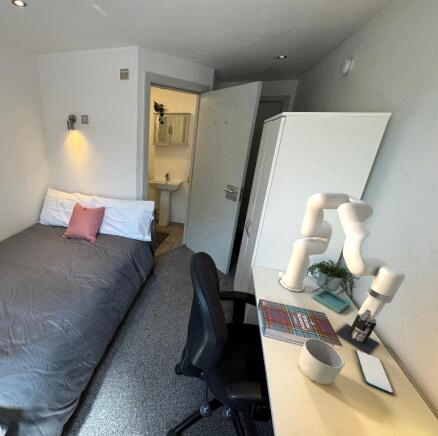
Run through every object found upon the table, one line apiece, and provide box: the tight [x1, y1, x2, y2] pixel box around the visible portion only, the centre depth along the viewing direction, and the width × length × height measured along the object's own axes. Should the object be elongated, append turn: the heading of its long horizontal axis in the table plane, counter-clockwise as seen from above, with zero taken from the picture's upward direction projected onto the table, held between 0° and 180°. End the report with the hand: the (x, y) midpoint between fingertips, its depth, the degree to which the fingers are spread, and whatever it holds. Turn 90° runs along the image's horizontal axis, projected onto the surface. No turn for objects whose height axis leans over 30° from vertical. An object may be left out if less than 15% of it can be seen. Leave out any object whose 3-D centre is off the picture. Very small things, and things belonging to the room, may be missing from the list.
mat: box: [335, 323, 379, 355], centre depth 106 cm, size 12×12×1 cm
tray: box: [313, 288, 352, 314], centre depth 129 cm, size 13×13×2 cm
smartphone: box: [355, 349, 394, 395], centre depth 91 cm, size 8×1×16 cm
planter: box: [298, 337, 346, 385], centre depth 88 cm, size 12×12×11 cm
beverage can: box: [349, 314, 377, 342], centre depth 104 cm, size 7×7×12 cm
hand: (363, 325), depth 103 cm, fingers closed on beverage can, 6 cm apart
